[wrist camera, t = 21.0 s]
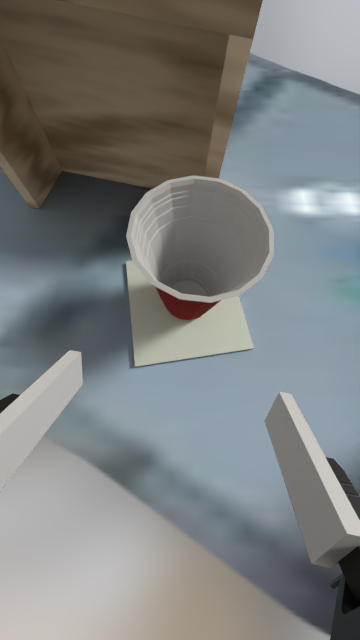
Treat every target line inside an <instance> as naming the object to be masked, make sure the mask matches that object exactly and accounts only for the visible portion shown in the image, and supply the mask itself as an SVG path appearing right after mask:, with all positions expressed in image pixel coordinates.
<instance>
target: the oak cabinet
mask: <svg viewBox="0 0 360 640" xmlns="http://www.w3.org/2000/svg"><path fill="white" fill-rule="evenodd" d="M261 4H262V0H0V167H1V168H2V170H3V171H4V172H5V174H6V175H7V176H8V178H9V179H10V181H11V182H12V183H13V185H14V186H15V187H16V189H17V190H18V192H19V193H20V194H21V196H22V197H23V198H24V200H25V201H26V203H27V204H28V205H29V207H33V208H38V209H40V207H41V206H42V204H43V202H44V200H45V199H46V197H47V195H48V194H49V192H50V190H51V189H52V187H53V185H54V184H55V182H56V180H57V179H58V177H59V175H60V173H61V172H62V171H66V172H71V173H76V174H81V175H86V176H91V177H96V178H101V179H106V180H111V181H116V182H121V183H126V184H131V185H136V186H141V187H146V188H151V189H153V188H155V187H157V186H159V185H160V184H162V183H164V182H166V181H167V180H171V179H177V178H182V177H188V176H193V175H194V176H202V177H210V178H219V174H220V170H221V166H222V162H223V158H224V154H225V150H226V146H227V142H228V138H229V134H230V130H231V126H232V122H233V118H234V114H235V110H236V106H237V101H238V97H239V93H240V89H241V85H242V81H243V77H244V73H245V69H246V65H247V61H248V57H249V53H250V49H251V45H252V41H253V37H254V33H255V28H256V25H257V21H258V16H259V12H260V8H261Z"/></svg>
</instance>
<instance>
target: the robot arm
mask: <svg viewBox="0 0 360 640" xmlns="http://www.w3.org/2000/svg"><path fill="white" fill-rule="evenodd" d="M82 384H83V378H82V359H81V352H77V351H72V350H69V351H68V352H67V353H66V354H65V355H64V356H63V357H62V358H61V359H59V360H58V361H57V362H56V363H55V364H54V365H53V366H52V367H51V368H50V369H48V370H47V371H46V372H45V373H44V374H43V375H42V376H41V377H40V378H39V379H38V380H36V381H35V382H34V383H33V384H32V385H31V386H30V387H29V388H28V389H27V390H26V391H24V392H23V393H22V394H21V395H17V394H11V395H9V396H7V397H5V398H3V399H2V400H0V491H1V490H2V488H3V487H4V486H5V484H6V483H7V482H8V481H9V479H10V478H11V477H12V475H13V474H14V473H15V472H16V470H17V469H18V468H19V466H20V465H21V464H22V462H23V461H24V460H25V458H26V457H27V456H28V455H29V453H30V452H31V451H32V449H33V448H34V447H35V445H36V444H37V443H38V442H39V440H40V439H41V438H42V436H43V435H44V434H45V433H46V431H47V430H48V429H49V427H50V426H51V425H52V423H53V422H54V421H55V420H56V418H57V417H58V416H59V414H60V413H61V412H62V410H63V409H64V408H65V407H66V405H67V404H68V403H69V401H70V400H71V399H72V397H73V396H74V395H75V394H76V392H77V391H78V390H79V388H80V387H81V386H82ZM265 423H266V427H267V430H268V433H269V436H270V439H271V442H272V445H273V448H274V451H275V454H276V457H277V460H278V463H279V466H280V469H281V472H282V475H283V478H284V481H285V484H286V487H287V490H288V493H289V497H290V500H291V503H292V506H293V509H294V512H295V515H296V518H297V521H298V524H299V527H300V530H301V533H302V536H303V539H304V542H305V545H306V548H307V551H308V554H309V557H310V560H311V563H312V564H313V565H318V566H322V567H327V568H332V567H333V566H334V565H336V564H337V563H338V562H339V565H340V567H341V570H342V572H343V574H342V575H340V576H339V577H337V578H336V579H335V580H333V581H332V583H331V585H330V586H331V587H332V588H333V589H334V588H336V587H337V586H339V588H338V594H337V600H336V607H335V613H334V619H333V625H332V632H331V638H330V640H360V498H359V497H358V494H357V492H356V490H355V489H354V487H353V486H352V484H351V482H350V480H349V479H348V477H347V475H346V473H345V472H344V470H343V469H342V468H341V467H340V466H339V465H338V464H337V462H336V461H335V460H334V459H331V458H327V457H325V456H324V454H323V452H322V450H321V448H320V446H319V445H318V443H317V441H316V439H315V437H314V435H313V433H312V432H311V430H310V428H309V426H308V424H307V422H306V421H305V419H304V417H303V415H302V413H301V411H300V410H299V408H298V406H297V404H296V402H295V400H294V399H293V397H292V395H291V394H288V393H283V392H279V393H278V395H277V397H276V399H275V401H274V403H273V405H272V407H271V409H270V411H269V413H268V415H267V417H266V419H265Z"/></svg>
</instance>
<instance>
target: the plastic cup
mask: <svg viewBox="0 0 360 640" xmlns="http://www.w3.org/2000/svg"><path fill="white" fill-rule="evenodd" d="M126 238H127V242H128V246H129V250H130V253H131V257H132V261H133V263H134V264H135V265H136V266H137V268H138V269H139V270H140V271H141V272H142V274H143V275H144V276H145V277H146V278H147V280H148V281H149V282H150V283H151V284H152V285H153V286H155V287H156V289H157V291H158V293H159V296H160V298H161V299H162V301H163V303H164V305H165V307H166V308H167V310H168V311H169V312H170V313H171V314H172V315H173V316H175V317H177V318H179V319H183V320H192V319H196V318H199V317H201V316H202V315H203V314H205V313H206V312H207V311H208V310H210V309H211V308H212V307H214V306H215V305H216V304H217V303H219V302H220V301H221V300H223V299H227V298H231V297H235V296H238V295H241V294H243V293H244V292H245V291H246V290H248V289H249V288H250V287H251V286H253V285H254V284H255V283H256V282H258V281H259V280H260V279H261V278H263V276H264V274H265V272H266V270H267V268H268V266H269V264H270V261H271V259H272V257H273V255H274V234H273V228H272V226H271V223H270V221H269V219H268V217H267V215H266V213H265V211H264V209H263V207H262V206H261V205H260V204H259V203H258V202H257V201H255V200H254V199H253V198H252V197H251V196H250V195H249V194H248V193H247V192H246V191H245V190H244V189H241V188H239V187H237V186H235V185H233V184H230V183H228V182H226V181H224V180H222V179H218V178H210V177H202V176H194V175H193V176H188V177H182V178H177V179H171V180H167V181H166V182H164V183H162V184H160V185H159V186H157V187H155V188H153V189H152V190H150V191H148V192H146V193H145V195H144V196H143V197H142V199H141V200H140V201H139V203H138V204H137V205H136V206H135V208H134V209H133V210H132V212H131V215H130V220H129V225H128V229H127V234H126Z"/></svg>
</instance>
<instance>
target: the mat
mask: <svg viewBox="0 0 360 640" xmlns="http://www.w3.org/2000/svg"><path fill="white" fill-rule="evenodd" d="M126 268H127V279H128V291H129V302H130V314H131V325H132V337H133V349H134V360H135V367H139V366H146V365H152V364H159V363H165V362H171V361H178V360H184V359H191V358H197V357H204V356H210V355H217V354H223V353H230V352H236V351H243V350H249V349H253V348H254V347H253V344H252V340H251V337H250V333H249V330H248V326H247V323H246V319H245V316H244V313H243V309H242V306H241V302H240V299H239V295H238V296H235V297H231V298H227V299H223V300H221V301H220V302H219V303H217V304H216V305H215V306H214V307H212V308H211V309H210V310H208V311H207V312H206V313H205V314H203V315H202V316H201V317H199V318H196V319H192V320H183V319H179V318H177V317H175V316H173V315H172V314H171V313H170V312H169V311H168V310H167V308H166V307H165V305H164V303H163V301H162V299H161V298H160V296H159V293H158V291H157V289H156V287H155V286H153V285H152V284H151V283H150V282H149V281H148V280H147V278H146V277H145V276H144V275H143V274H142V272H141V271H140V270H139V269H138V268H137V266H136V265H135V264H134V263H133V261H126Z"/></svg>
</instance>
